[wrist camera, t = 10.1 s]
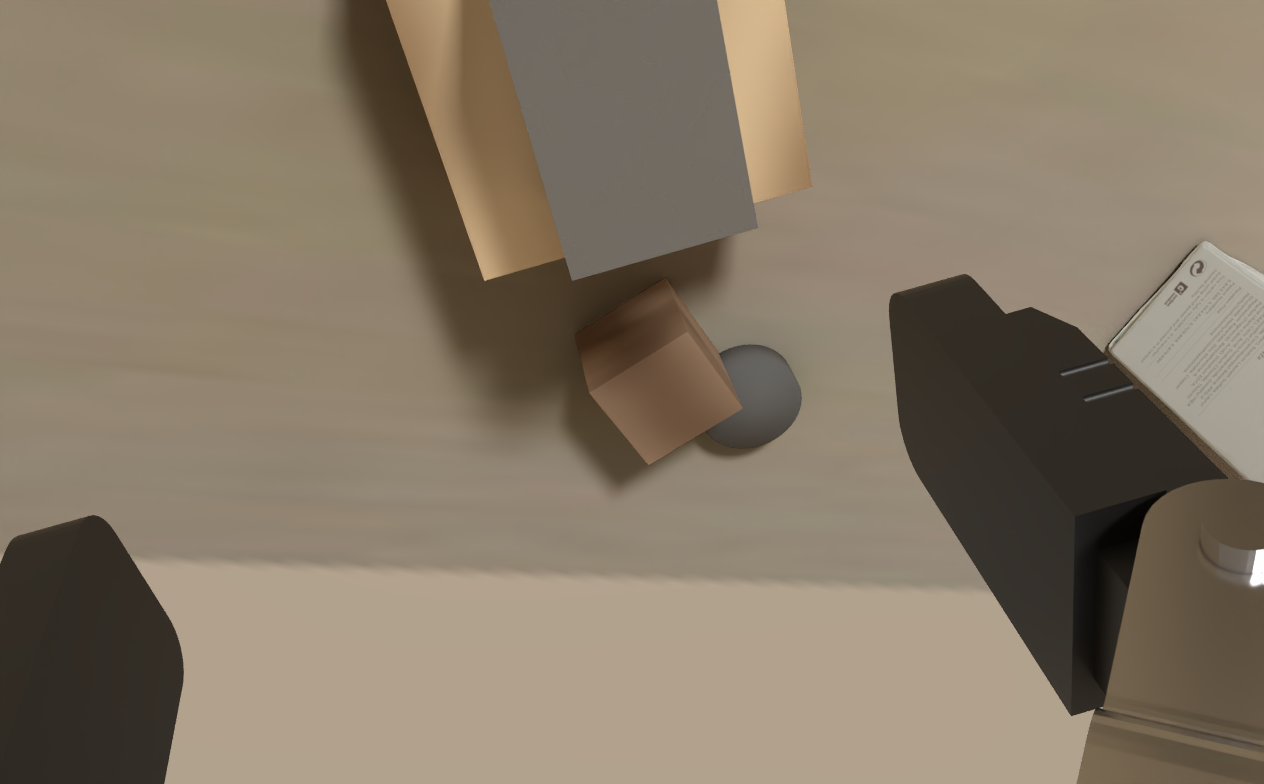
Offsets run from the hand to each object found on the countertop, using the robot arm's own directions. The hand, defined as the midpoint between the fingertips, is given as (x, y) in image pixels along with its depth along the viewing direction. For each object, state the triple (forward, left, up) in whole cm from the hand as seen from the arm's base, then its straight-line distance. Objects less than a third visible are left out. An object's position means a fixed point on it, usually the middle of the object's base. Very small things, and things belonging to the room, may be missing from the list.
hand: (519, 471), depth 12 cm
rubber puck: (+6, -20, -28) cm, 35 cm away
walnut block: (+3, -17, -27) cm, 32 cm away
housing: (+3, -3, -21) cm, 21 cm away
